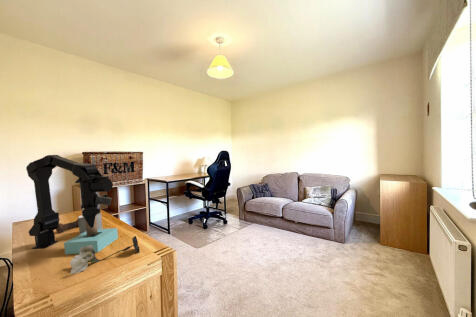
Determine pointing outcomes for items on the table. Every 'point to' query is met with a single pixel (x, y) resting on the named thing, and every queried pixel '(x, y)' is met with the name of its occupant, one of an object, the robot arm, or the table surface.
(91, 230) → the walnut dowel
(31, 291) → the table surface
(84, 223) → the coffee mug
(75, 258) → the artificial flower
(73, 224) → the bolt
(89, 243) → the socket block
